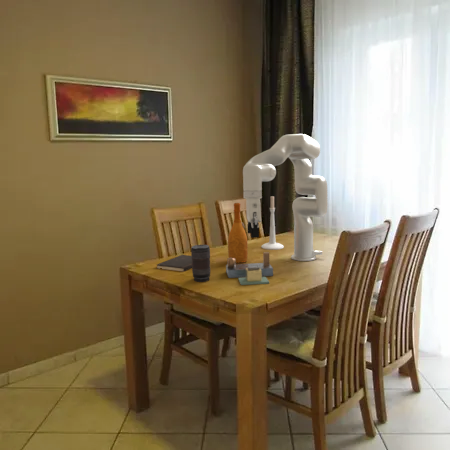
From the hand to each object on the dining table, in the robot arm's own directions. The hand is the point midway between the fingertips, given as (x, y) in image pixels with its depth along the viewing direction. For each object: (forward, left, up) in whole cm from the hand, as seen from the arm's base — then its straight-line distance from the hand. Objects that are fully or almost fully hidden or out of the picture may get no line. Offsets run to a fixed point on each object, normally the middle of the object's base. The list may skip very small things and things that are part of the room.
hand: (253, 235), depth 187 cm
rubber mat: (0, 0, -20) cm, 20 cm away
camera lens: (+22, -6, -20) cm, 31 cm away
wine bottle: (+2, -36, -20) cm, 42 cm away
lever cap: (0, 0, -19) cm, 19 cm away
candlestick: (-22, -66, -20) cm, 73 cm away
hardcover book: (+30, -36, -21) cm, 51 cm away
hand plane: (0, -12, -20) cm, 24 cm away
